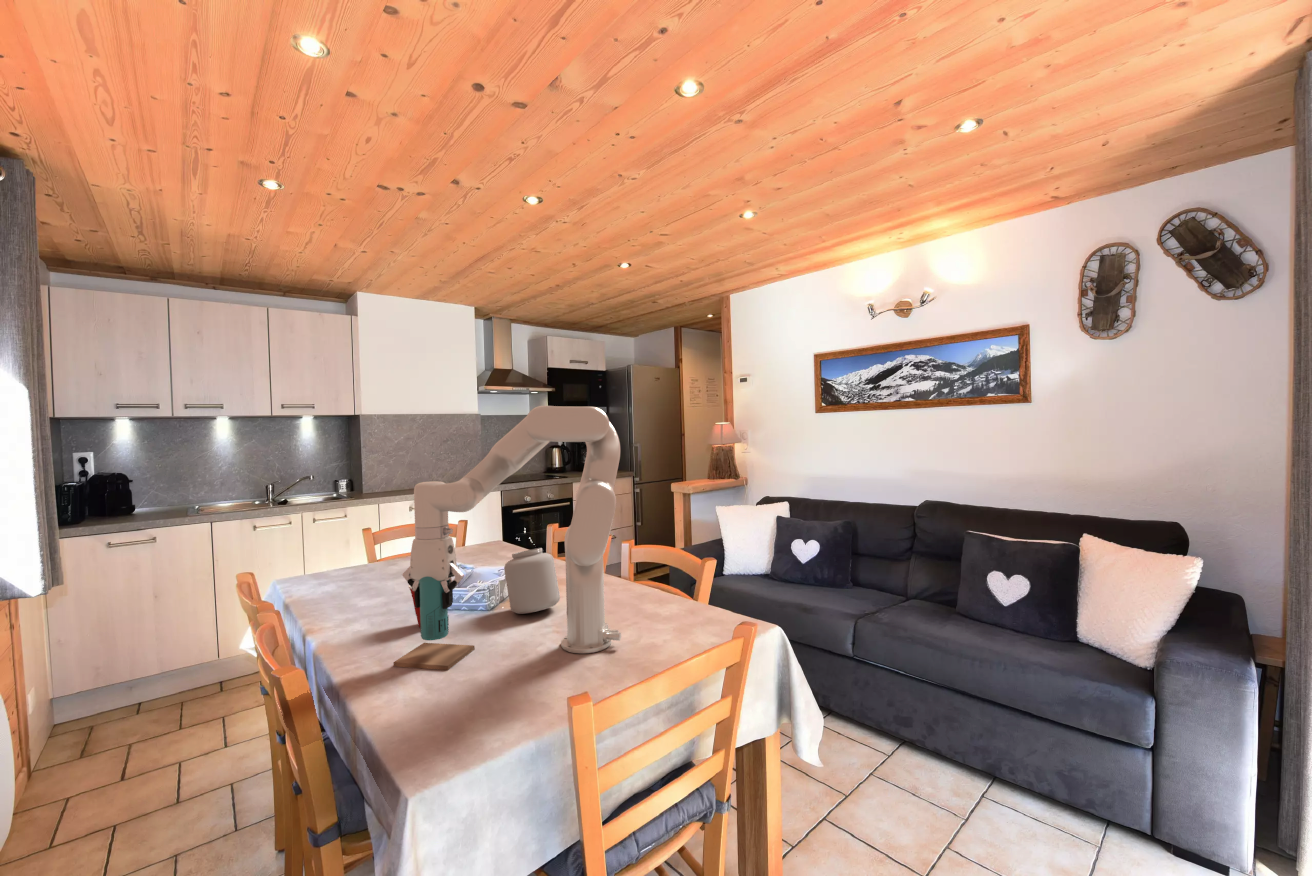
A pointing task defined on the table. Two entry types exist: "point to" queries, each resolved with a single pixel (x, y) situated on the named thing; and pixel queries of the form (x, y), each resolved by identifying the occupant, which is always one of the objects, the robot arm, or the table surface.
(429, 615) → the beverage bottle
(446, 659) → the walnut board
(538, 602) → the jar
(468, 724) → the table surface
